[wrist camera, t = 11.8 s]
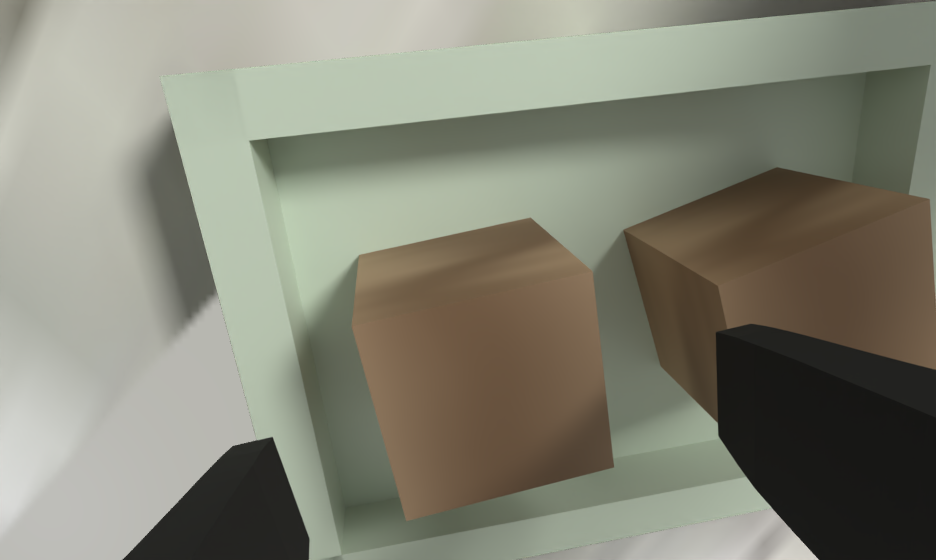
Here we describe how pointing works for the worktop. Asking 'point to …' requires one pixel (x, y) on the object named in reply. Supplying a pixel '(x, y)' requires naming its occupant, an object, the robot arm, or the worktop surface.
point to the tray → (514, 198)
